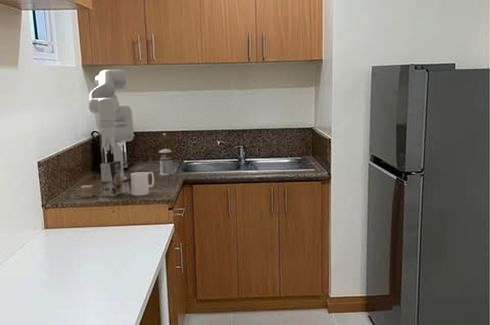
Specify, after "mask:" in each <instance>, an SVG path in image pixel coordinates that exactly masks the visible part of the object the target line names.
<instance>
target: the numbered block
mask: <svg viewBox="0 0 490 325" xmlns="http://www.w3.org/2000/svg"><path fill="white" fill-rule="evenodd" d="M93 196H95V195H94V185H93V184H89V185H81V186H80V198H83V199H86V198H93Z"/></svg>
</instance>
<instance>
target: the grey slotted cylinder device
mask: <svg viewBox="0 0 490 325" xmlns="http://www.w3.org/2000/svg"><path fill="white" fill-rule="evenodd" d="M162 135H163V136H164V137H166V136H167V133H165V132H164V133H162ZM158 153H159V154H161V155H160V156H161V157H160V158H159V159H160V160H159V171H160V172H159V173H158V175H159V174H161V175H160V176H170V175H169V174H172V175H175V174H176V173H175V172H174V168H173V167H174V166H173V165H174V164H173V163H174V162H173V159H172V157H171V156H169V157H166V154H169V153H173V151H172V150H171V149H169V148H166V146H164V149H161V150H159V151H158ZM163 154H164V155H163Z"/></svg>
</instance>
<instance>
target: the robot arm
mask: <svg viewBox="0 0 490 325" xmlns="http://www.w3.org/2000/svg"><path fill="white" fill-rule="evenodd" d="M94 82H95V86H96V87H94V89H92V90H91V91H90V93H89V96H88V110H89V112H90V113H92V114H98V122H99V128H101V146H102V149H104V158H105V160H104V161H105V162H114V161H120V164H121V178H122V182H123V181H127V176H125V175H124V174H125V173H124V164H123V163H124V162H123V161H124V160H123V149H122V147H121V146H120V145H119V144H118V143H121V142H131V141H133V139H134V137H135V136H134V121H133V111H132V109H131V107H130V106H129V105H120V102H119V100H118V96H117V95H116V91H117V90H126V89H127V88H128V85H129V78H128V74H127V72H126V71H125V70H124V69H117V68H116V69H103V70H101V71H100V72H99V74H98V75H96V76H95V78H94ZM119 123H122V124H119ZM105 162H104V163H105Z"/></svg>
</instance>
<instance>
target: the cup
mask: <svg viewBox="0 0 490 325" xmlns="http://www.w3.org/2000/svg"><path fill="white" fill-rule="evenodd" d="M150 174H151V178H152V180H151V184H149V175H150ZM130 184H131V186H130V187H131V195H132V196H145V195H149V194H150V188H152V187H154V185H155V176H154V172H153V171H148V172H146V171H139V172H132V173H130Z"/></svg>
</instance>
